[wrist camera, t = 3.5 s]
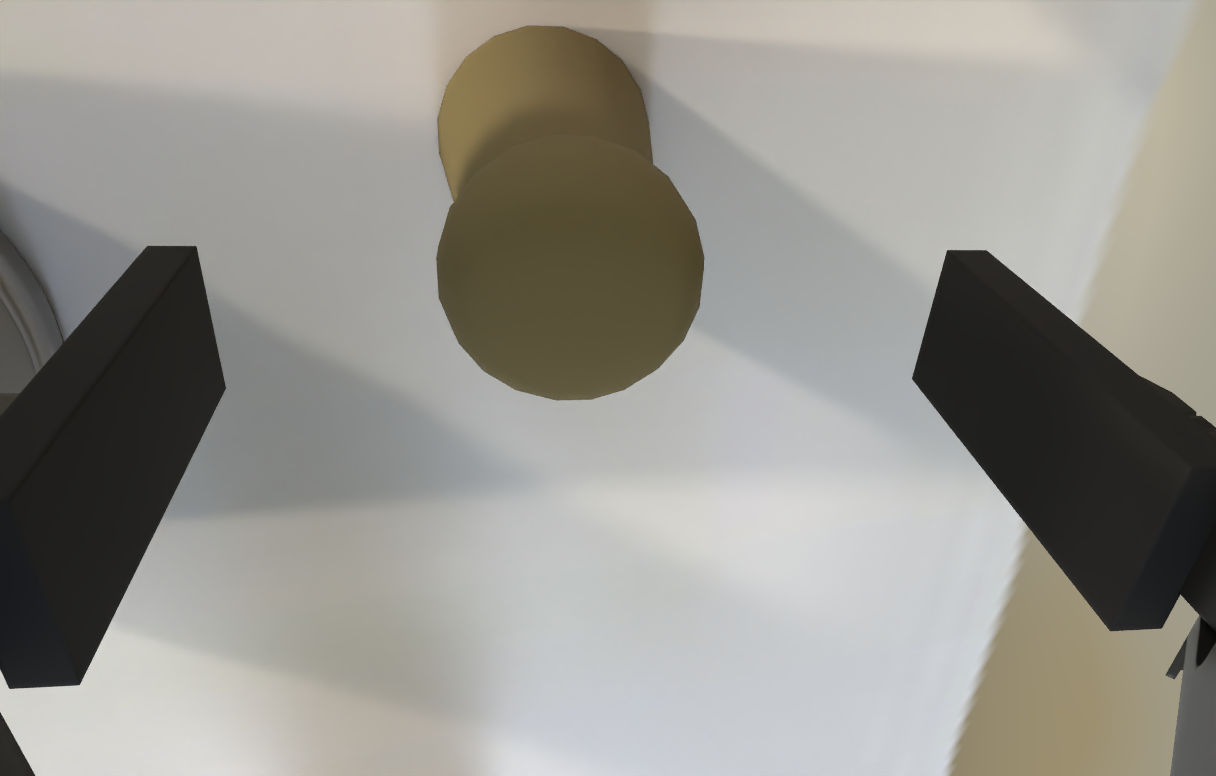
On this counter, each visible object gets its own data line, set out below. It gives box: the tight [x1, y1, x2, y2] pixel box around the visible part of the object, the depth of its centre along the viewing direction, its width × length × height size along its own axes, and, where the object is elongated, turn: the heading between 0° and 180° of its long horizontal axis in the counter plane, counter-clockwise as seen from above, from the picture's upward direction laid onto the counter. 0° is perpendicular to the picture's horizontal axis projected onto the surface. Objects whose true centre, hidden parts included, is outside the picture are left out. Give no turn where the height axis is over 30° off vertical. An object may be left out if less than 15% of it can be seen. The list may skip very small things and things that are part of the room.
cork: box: [437, 26, 704, 400], centre depth 20 cm, size 6×6×11 cm
